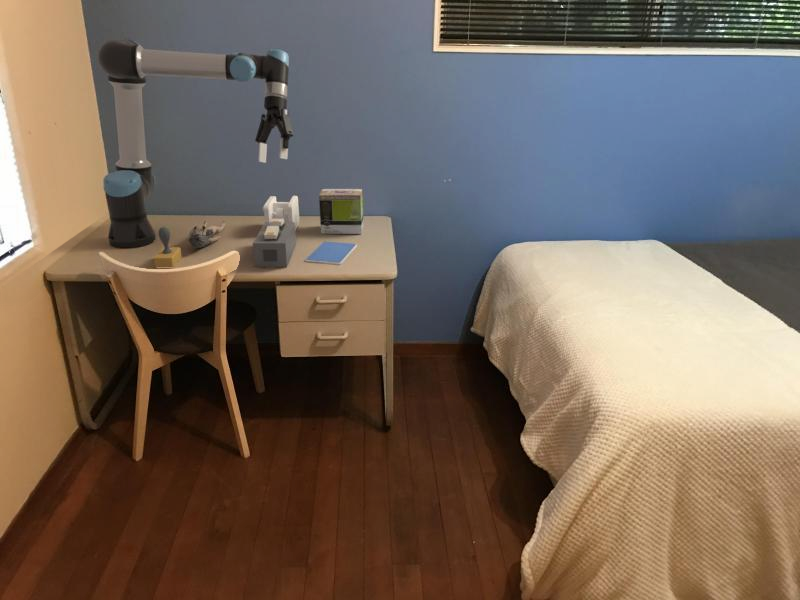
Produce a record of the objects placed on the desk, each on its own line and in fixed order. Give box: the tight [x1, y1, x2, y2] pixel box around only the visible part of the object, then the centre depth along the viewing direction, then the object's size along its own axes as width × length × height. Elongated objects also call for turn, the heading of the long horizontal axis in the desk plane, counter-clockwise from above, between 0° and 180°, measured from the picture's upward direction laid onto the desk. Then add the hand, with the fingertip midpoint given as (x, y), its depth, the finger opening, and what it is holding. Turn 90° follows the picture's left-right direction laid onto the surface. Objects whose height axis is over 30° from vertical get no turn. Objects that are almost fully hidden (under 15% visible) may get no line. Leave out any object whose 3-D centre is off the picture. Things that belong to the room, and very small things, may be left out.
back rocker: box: [270, 219, 284, 226], centre depth 203 cm, size 4×6×2 cm, turn 1°
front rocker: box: [264, 226, 279, 239], centre depth 194 cm, size 4×6×2 cm, turn 1°
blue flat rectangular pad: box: [304, 240, 358, 266], centre depth 205 cm, size 19×13×1 cm, turn 167°
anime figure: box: [188, 220, 227, 249], centre depth 214 cm, size 10×7×30 cm
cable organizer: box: [262, 195, 300, 232], centre depth 225 cm, size 15×11×12 cm
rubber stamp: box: [153, 226, 183, 268], centre depth 193 cm, size 10×6×12 cm, turn 4°
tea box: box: [318, 188, 364, 235], centre depth 224 cm, size 15×10×15 cm, turn 89°
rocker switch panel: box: [252, 221, 297, 268], centre depth 200 cm, size 10×22×8 cm, turn 1°
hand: (272, 160), depth 211 cm, fingers open, 13 cm apart
